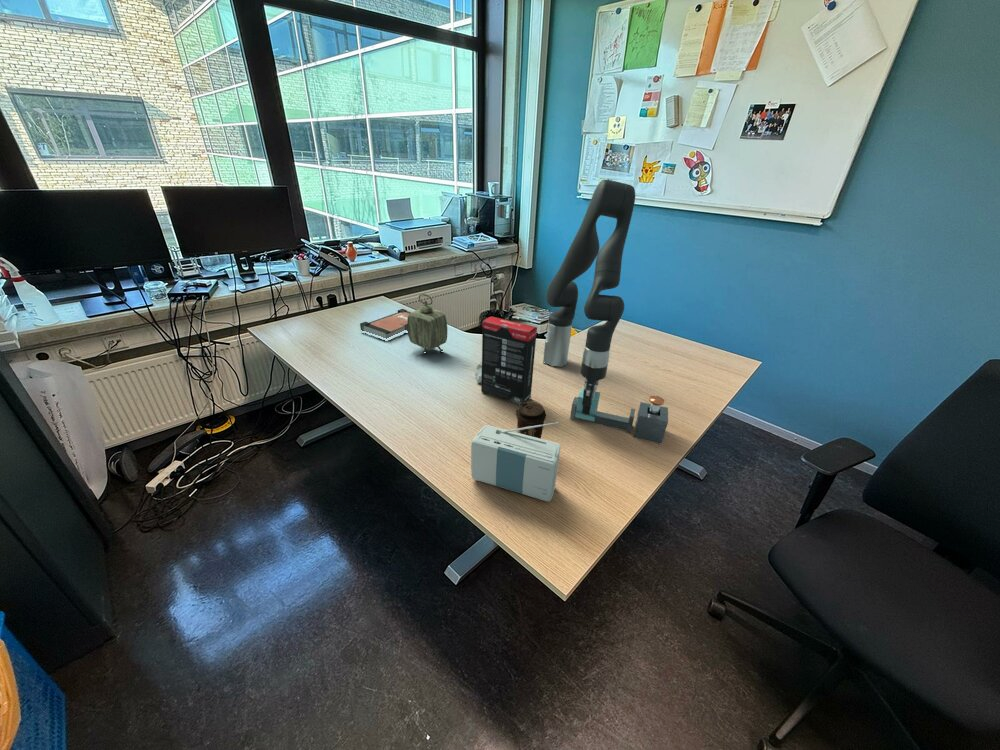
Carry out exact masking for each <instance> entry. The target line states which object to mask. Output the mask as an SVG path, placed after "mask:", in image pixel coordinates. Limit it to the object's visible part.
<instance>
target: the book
mask: <svg viewBox="0 0 1000 750" xmlns="http://www.w3.org/2000/svg"><path fill="white" fill-rule="evenodd" d="M411 312H412V311H409V310H408V309H404V308H401V309H398V310H397V312H395V313H392V314H389V315H386V316H384V317H381V318H377V319H375V320H373V321H370V322H368V321H363V322H361V323H359V327H360V331H361V330H362V331H366V332H369V333H372V334H375V335H378V336H381V337H383V338H386V339H387V338H389V337H391V336H393V335H395V334H398V333H400V332H402V331H404V330H407V331H408V325H407V319H408V316H409V314H410V313H411Z"/></svg>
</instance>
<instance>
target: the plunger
mask: <svg viewBox="0 0 1000 750" xmlns="http://www.w3.org/2000/svg"><path fill="white" fill-rule="evenodd" d="M649 402H650V404H651V406H650V410H649V413H648V414H653V415H658V412H659V409H660V406H663V405H664V404H665V399H664V398H663V397H661V396H659V395H651V396H650V397H649Z"/></svg>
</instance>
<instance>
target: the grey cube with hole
mask: <svg viewBox="0 0 1000 750" xmlns="http://www.w3.org/2000/svg"><path fill="white" fill-rule="evenodd" d="M650 406H651V403H647V402H643V401H640V403H639V407H638V411H637V414H636V415H637V416H636V419H635V423H634V433H633V438H634V439H639V440H643V441H648V442H652V443H655V444H656V443H657V444H662V443H663V440H664V438H665V434H666V431H667V426H668V424H669V407H666V406H663V405H660V409H659V412H658V415H653V414H648V413H649V410H650Z"/></svg>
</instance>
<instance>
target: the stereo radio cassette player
mask: <svg viewBox="0 0 1000 750" xmlns="http://www.w3.org/2000/svg"><path fill="white" fill-rule="evenodd" d="M555 424H556V425H558V424H559V421H556V422H550V423H544V424H543V425H536V426H530V427H524V428H518V429H517V428H514V429H506V428H505V429H504V428H500V427H496V426H492V425H488V424H485V425H483V426H482V427H481V429H479V431H478V432H477V433H476V435H475V436H474V437H473V439H472V441H471V447H470V449H471V451H470V454H471V455H470V469H471V470H470V471H471V479H473V480H475V481H479V482H482V483H485V484H488V485H491V486H496V487H499V488H502V489H505V490H507V491H511V492H515V493H518V494H520V495H521V494H522V495H525V496H528V497H531V498H534V499H537V500H540V501H541V500H542V501H543V502H547V503H548V502H551V500H552V499H553V496H554V493H555V489H556V483H557V477H558V469H559V460H560V452H561V446H562V445H561V444H560V443H559V442H555V441H551V440H547V439H544V438H543V439H542V438H541V439H540V438H536V437H532V436H528V435H524V434H520V433H518V430H524V429H530V428H535V427H541V426H543V427H545V426H549V425H555Z"/></svg>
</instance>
